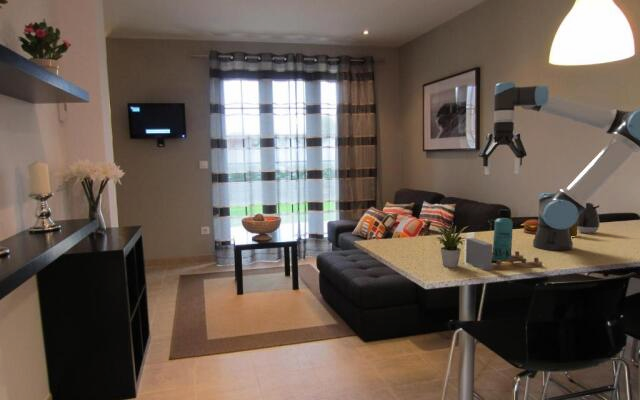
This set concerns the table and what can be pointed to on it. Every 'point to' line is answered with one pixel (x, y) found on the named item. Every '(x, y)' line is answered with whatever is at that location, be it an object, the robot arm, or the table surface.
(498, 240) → the beverage bottle
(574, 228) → the condiment
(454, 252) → the house plant
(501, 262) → the band marker
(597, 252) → the table surface
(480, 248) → the end block
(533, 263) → the wooden peg rack
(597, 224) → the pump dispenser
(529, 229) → the hamburger
